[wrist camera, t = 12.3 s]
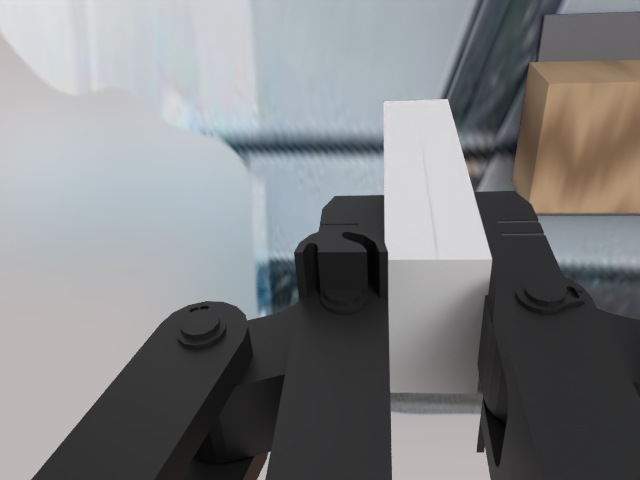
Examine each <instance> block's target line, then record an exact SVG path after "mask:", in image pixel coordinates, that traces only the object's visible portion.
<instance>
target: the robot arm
mask: <svg viewBox="0 0 640 480" xmlns="http://www.w3.org/2000/svg"><path fill="white" fill-rule="evenodd" d="M294 256H295V265H296V274H297V283H298V292H299V301H298V302H297V303H296V304H295V305H293V306H292V307H290V308H288V309H286V310H284V311H282V312H279V313H276V314H273V315H270V316H266V317H261V318H257V319H252V320H248V321H247V319H246V315H245V314H244V313H243V312H242V311H241V310H239V308H237V307H236V306H233V305H230V304H228V303H224V302H210V301H206V302H201V303H196V304H192V305H188V306H186V307H184V308H182V309H180V310H178V311H176V312H174V313H172V314H171V315H170V316H169V317H168V318H167V319H166V320H164V321H163V322H162V323H161V324H160V325H159V327H158V328H157V329H156V330H155V331H154V333H153V334H152V335H151V336H150V337H149V339H148V340H147V341H146V342H145V343H144V345H143V346H142V347H141V348H140V349H139V351H138V352H137V353H136V354H135V355H134V357H133V358H132V359H131V361H129V363H128V364H127V365H126V366H125V368H124V369H123V370H122V371H121V372H120V374H119V375H118V376H117V377H116V378H115V380H114V381H113V382H112V383H111V384H110V386H109V387H108V388H107V389H106V390H105V392H104V393H103V394H102V395H101V397H100V398H99V399H98V400H97V401H96V403H95V404H94V405H93V406H92V407H91V409H90V410H89V411H88V412H87V413H86V414H85V416H84V417H83V418H82V419H81V421H80V422H79V423H78V424H77V425H76V427H75V428H74V429H73V430H72V431H71V433H70V434H69V435H68V436H67V438H66V439H65V440H64V441H63V442H62V443H61V445H60V446H59V447H58V448H57V450H56V451H55V452H54V453H53V454H52V455H51V457H50V458H49V459H48V460H47V461H46V463H45V464H44V465H43V466H42V468H41V469H40V470H39V471H38V472H37V474H36V475H35V476H34V477H33V478H32V479H31V480H257V478H258V476H259V474H260V471H261V470H262V468H263V465H264V463H265V461H266V459H267V455H268V452H270V451H271V454H270V459H269V464H268V469H267V475H266V480H392V465H391V411H390V392H396V393H442V394H477V387H478V379H479V376H480V382H481V387H482V392H483V402H482V410H481V418H480V426H479V434H478V444H477V452H484V447H485V449H486V455H487V460H488V466H489V472H490V478H491V480H640V320H637V319H632V318H627V317H623V316H619V315H615V314H612V313H608V312H605V311H602V310H600V309H598V308H597V307H596V305H595V303H594V301H593V299H592V298H591V296H590V295H589V294H588V293H587V291H586V290H585V289H584V288H583V287H582V286H580V285H578V284H577V283H575V282H574V281H572V280H570V279H569V278H565V277H563V275H562V273H561V270H560V268H559V266H558V263H557V261H556V259H555V257H554V254H553V252H552V250H551V247H550V245H549V243H548V241H547V238H546V236H545V235H544V231H543V229H542V227H541V225H540V223H538V218H537V215H536V213H535V211H534V209H533V206H532V204H531V203H529V202H528V201H527V200H525V199H524V198H523V197H522V196H520V195H519V194H518V193H516V192H515V191H501V192H473V188H472V185H471V181H470V178H469V174H468V170H467V167H466V163H465V160H464V156H463V152H462V149H461V145H460V142H459V138H458V134H457V131H456V127H455V124H454V120H453V116H452V113H451V109H450V106H449V102H448V99H436V100H407V101H384V195H369V196H334V198H333V199H332V200H331V201H330V202H329V203H328V204H327V205H326V206H325V207H324V208H323V209H322V215H321V221H320V227H319V232H317V233H314V234H311V235H310V236H308V237H307V238H306V239H304V240H303V241H301V242H300V243H299V245H298V247H297V248H296V250H295V252H294Z"/></svg>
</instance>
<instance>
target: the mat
mask: <svg viewBox="0 0 640 480" xmlns="http://www.w3.org/2000/svg"><path fill="white" fill-rule="evenodd" d="M606 60H640V12H621V13H586V14H551V15H544V19H543V25H542V32H541V38H540V45H539V51H538V58H537V62H561V61H606ZM536 215H537V216H640V213H536Z"/></svg>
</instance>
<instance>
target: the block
mask: <svg viewBox="0 0 640 480" xmlns="http://www.w3.org/2000/svg"><path fill="white" fill-rule="evenodd" d="M512 183H513V185H514V187H515V189H516V191H517V193H518V194H519V195H520V196H522V197H523V198H524V199H525V200H527V201H528V202H529V203H531V204H532V206H533V209H534V211H535V213H640V60H606V61H561V62H529V69H528V76H527V82H526V89H525V96H524V103H523V110H522V116H521V123H520V130H519V137H518V143H517V150H516V157H515V164H514V171H513V177H512Z"/></svg>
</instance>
